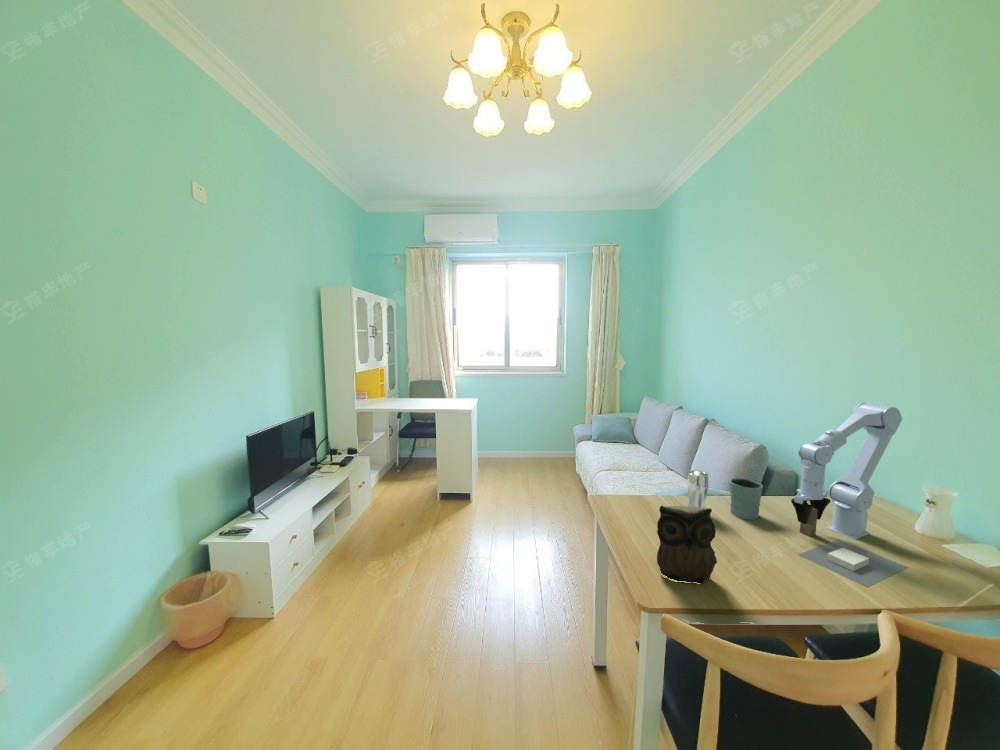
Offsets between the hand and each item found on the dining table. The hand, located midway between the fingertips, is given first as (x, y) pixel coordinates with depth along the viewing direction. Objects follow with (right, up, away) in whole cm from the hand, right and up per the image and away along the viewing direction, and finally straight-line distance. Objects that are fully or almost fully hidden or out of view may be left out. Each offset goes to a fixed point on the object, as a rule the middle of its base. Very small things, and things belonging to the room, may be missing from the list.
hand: (809, 520), depth 123 cm
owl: (-51, -7, -19) cm, 55 cm away
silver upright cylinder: (-29, -4, +16) cm, 33 cm away
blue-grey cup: (-12, -4, +15) cm, 19 cm away
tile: (+2, -5, -14) cm, 15 cm away
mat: (0, -6, -15) cm, 16 cm away
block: (0, -5, +1) cm, 5 cm away
